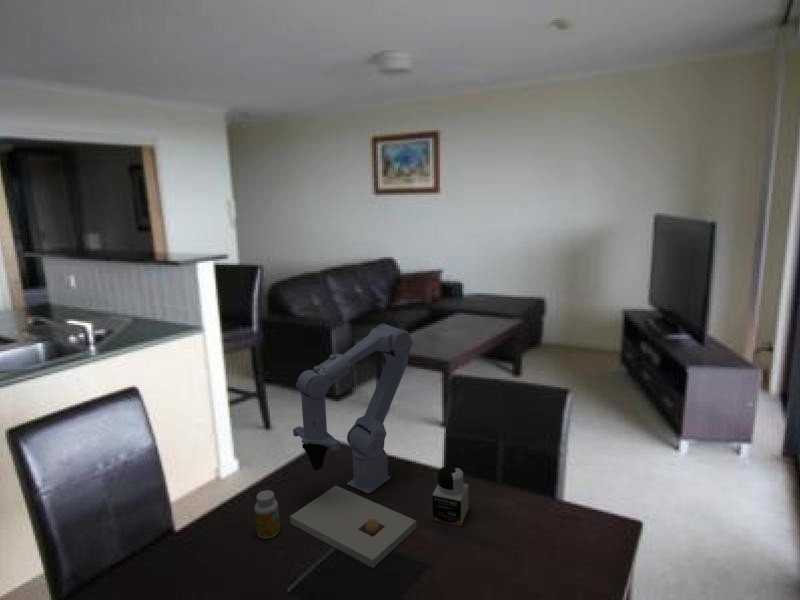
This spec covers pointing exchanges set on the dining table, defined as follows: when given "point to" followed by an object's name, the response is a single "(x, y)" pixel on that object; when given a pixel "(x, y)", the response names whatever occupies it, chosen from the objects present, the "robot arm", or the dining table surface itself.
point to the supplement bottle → (267, 515)
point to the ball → (372, 527)
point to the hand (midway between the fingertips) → (317, 468)
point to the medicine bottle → (450, 496)
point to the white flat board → (353, 525)
